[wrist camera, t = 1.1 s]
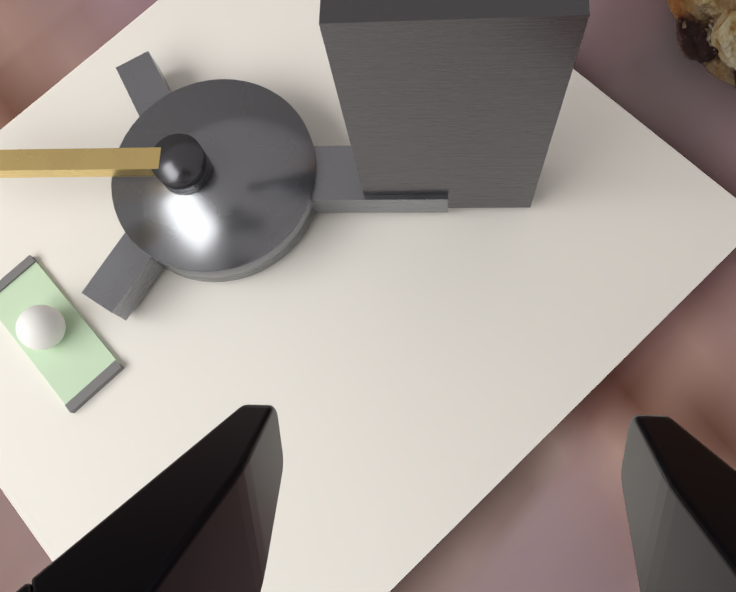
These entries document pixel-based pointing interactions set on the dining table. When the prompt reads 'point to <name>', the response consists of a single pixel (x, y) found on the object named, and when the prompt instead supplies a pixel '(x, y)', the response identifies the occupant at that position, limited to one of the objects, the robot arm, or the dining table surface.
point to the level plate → (328, 313)
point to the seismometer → (329, 163)
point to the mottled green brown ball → (708, 34)
